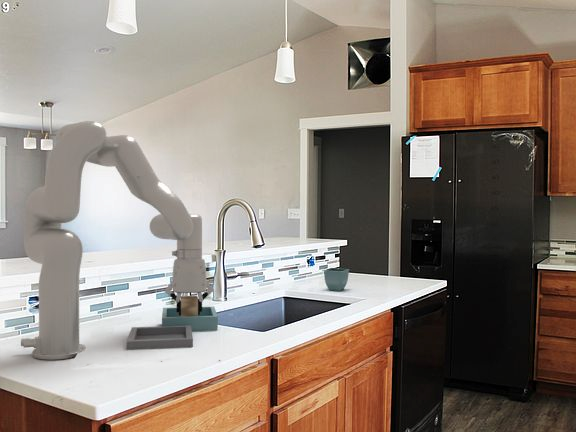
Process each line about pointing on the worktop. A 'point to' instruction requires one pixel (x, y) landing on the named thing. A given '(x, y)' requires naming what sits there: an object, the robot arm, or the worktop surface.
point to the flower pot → (336, 278)
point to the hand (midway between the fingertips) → (189, 313)
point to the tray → (191, 319)
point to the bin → (160, 337)
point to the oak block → (189, 306)
